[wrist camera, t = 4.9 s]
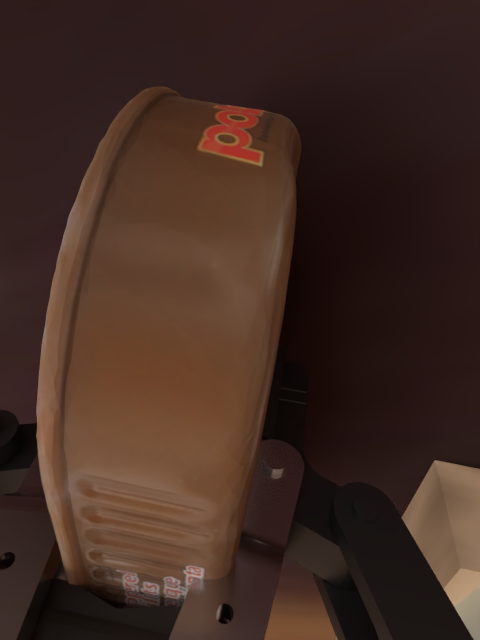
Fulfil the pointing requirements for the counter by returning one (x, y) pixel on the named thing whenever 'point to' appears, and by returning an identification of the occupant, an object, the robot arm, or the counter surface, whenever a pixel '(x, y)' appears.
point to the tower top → (471, 612)
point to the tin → (165, 344)
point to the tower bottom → (449, 526)
